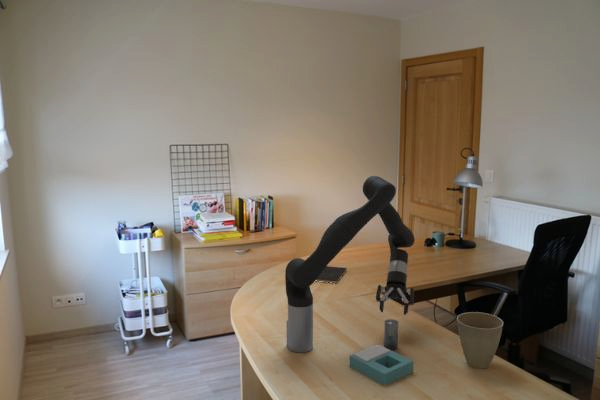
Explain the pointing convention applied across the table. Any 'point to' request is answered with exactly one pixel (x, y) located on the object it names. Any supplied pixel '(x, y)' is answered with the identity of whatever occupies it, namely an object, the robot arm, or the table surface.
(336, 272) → the hardcover book
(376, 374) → the jig
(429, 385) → the table surface
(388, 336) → the dark grey cylinder
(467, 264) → the table surface
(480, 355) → the plant pot
